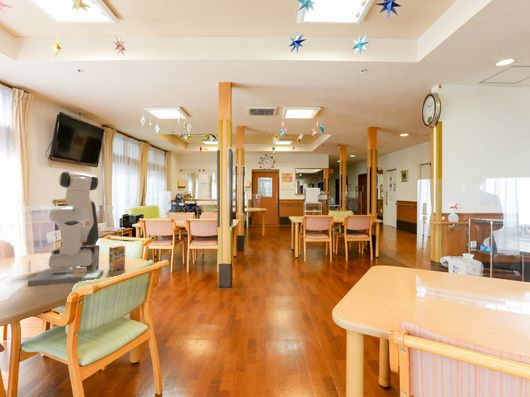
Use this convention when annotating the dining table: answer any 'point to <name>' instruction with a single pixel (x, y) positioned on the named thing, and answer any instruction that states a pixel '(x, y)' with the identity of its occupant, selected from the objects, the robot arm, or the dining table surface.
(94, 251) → the coffee box
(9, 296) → the dining table surface
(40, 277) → the trap board
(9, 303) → the dining table surface
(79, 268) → the maple block
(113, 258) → the candy box
